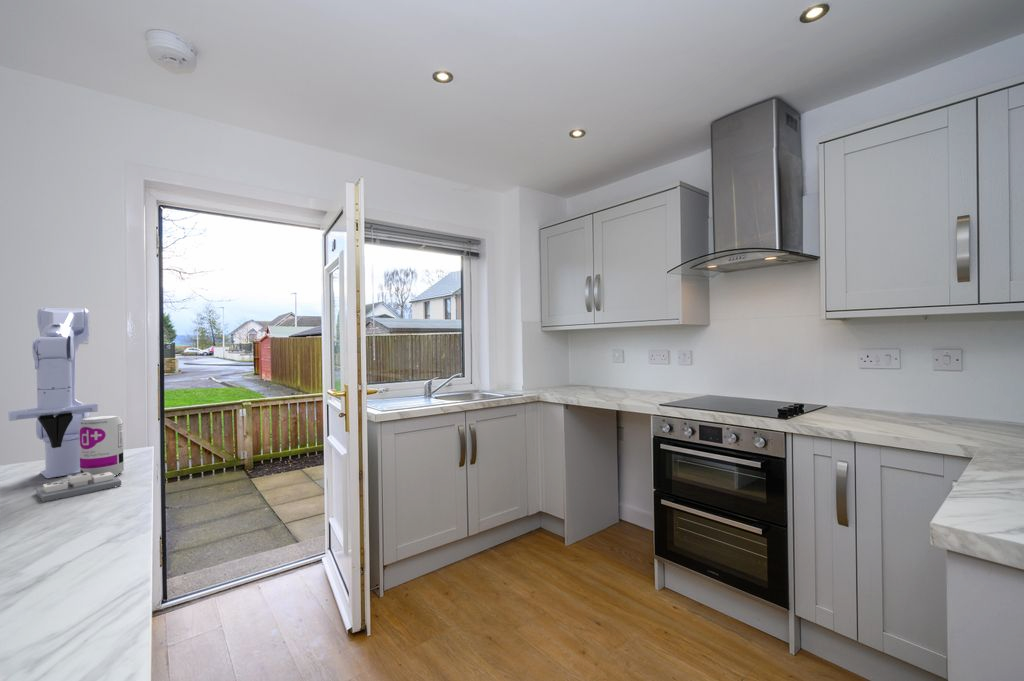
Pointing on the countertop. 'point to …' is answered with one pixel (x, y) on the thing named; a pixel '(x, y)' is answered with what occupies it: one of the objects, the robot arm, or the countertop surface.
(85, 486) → the keypad
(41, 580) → the countertop surface
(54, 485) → the tile three
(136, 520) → the countertop surface
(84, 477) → the tile two
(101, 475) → the tile one
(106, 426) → the supplement can
